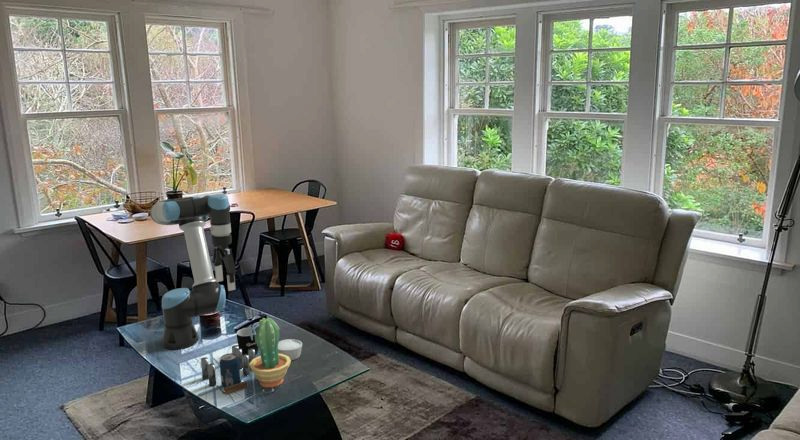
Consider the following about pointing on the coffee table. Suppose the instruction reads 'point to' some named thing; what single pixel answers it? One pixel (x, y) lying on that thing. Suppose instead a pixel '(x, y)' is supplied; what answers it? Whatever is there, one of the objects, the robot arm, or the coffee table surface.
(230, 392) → the walnut stop
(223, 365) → the soda can
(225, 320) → the coffee table surface
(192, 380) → the coffee table surface
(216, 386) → the bay lines
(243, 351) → the mug
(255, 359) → the potted cactus
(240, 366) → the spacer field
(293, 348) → the ramekin
